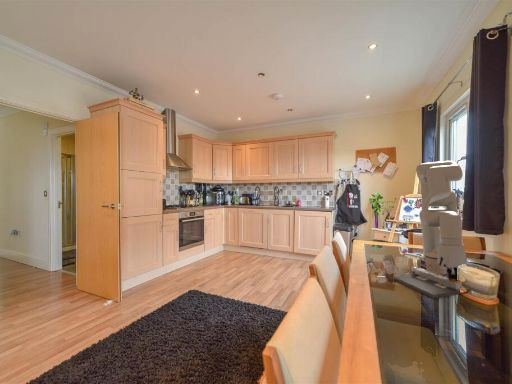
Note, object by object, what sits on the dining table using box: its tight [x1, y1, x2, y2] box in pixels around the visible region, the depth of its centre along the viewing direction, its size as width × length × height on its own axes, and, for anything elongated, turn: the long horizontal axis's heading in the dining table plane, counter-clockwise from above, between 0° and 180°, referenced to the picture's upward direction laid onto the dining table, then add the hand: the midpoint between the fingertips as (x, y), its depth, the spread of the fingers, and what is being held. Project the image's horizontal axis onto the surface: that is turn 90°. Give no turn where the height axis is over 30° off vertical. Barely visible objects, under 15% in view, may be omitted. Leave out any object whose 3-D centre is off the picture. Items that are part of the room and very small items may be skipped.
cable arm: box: [410, 265, 462, 289], centre depth 105 cm, size 22×4×3 cm, turn 12°
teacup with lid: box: [417, 250, 448, 276], centre depth 120 cm, size 12×9×12 cm
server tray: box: [393, 272, 460, 299], centre depth 105 cm, size 18×21×2 cm
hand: (453, 282), depth 101 cm, fingers closed
